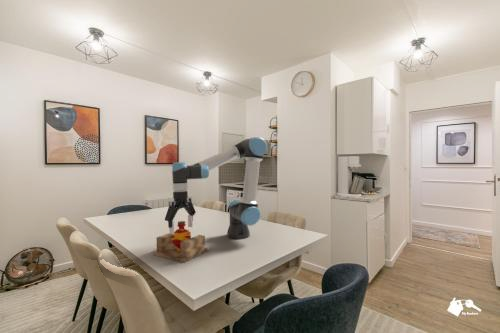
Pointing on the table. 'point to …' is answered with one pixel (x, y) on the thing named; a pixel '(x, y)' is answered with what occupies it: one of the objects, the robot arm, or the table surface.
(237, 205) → the robot arm
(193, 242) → the notched wooden block
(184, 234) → the potion bottle
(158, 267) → the table surface
